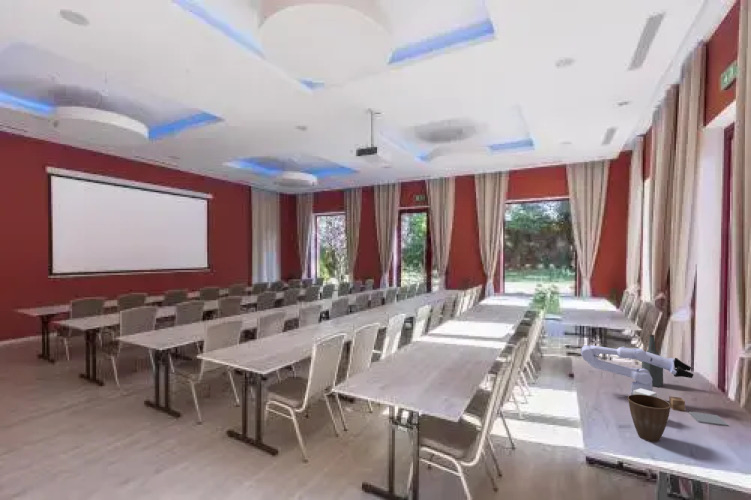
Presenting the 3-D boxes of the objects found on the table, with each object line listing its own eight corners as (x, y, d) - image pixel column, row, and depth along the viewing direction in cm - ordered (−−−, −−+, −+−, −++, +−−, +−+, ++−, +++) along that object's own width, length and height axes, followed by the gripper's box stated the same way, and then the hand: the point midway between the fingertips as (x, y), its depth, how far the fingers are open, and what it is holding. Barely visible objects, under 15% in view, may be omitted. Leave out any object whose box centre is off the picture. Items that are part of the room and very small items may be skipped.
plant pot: (680, 443, 156) (679, 405, 156) (653, 449, 152) (653, 410, 152) (645, 427, 170) (644, 392, 170) (620, 432, 166) (619, 396, 166)
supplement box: (649, 422, 176) (648, 395, 176) (632, 416, 182) (632, 390, 182) (657, 418, 179) (657, 392, 179) (640, 412, 186) (640, 387, 186)
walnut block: (672, 409, 189) (672, 399, 189) (669, 406, 194) (669, 396, 194) (685, 411, 187) (684, 401, 187) (681, 407, 192) (681, 397, 192)
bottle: (662, 383, 226) (661, 333, 227) (664, 388, 218) (663, 337, 218) (641, 380, 232) (640, 332, 232) (642, 385, 224) (641, 335, 224)
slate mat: (698, 422, 175) (698, 421, 175) (689, 412, 185) (689, 411, 185) (728, 426, 171) (728, 425, 171) (717, 416, 181) (717, 415, 181)
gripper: (664, 361, 192) (696, 372, 185) (661, 349, 204) (692, 359, 197) (659, 373, 194) (691, 384, 188) (656, 360, 206) (687, 370, 199)
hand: (691, 372), depth 192 cm, fingers open, 7 cm apart
